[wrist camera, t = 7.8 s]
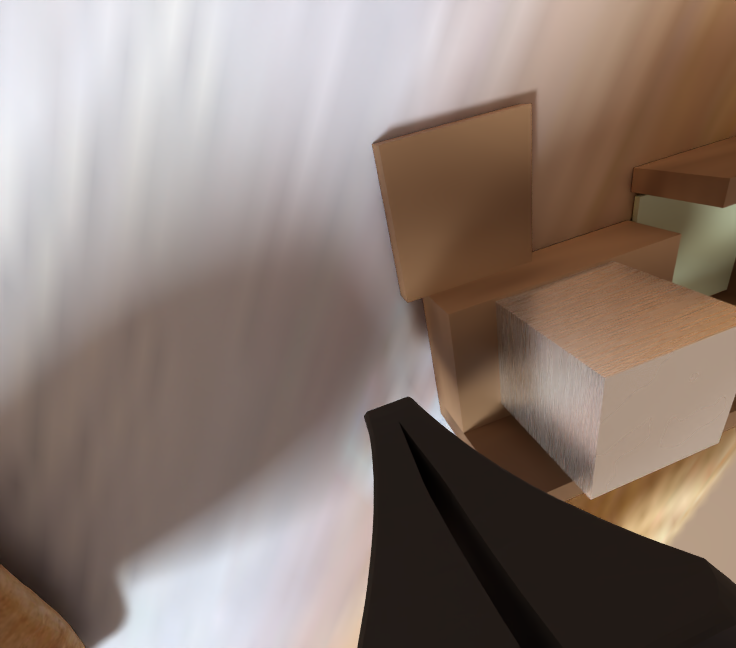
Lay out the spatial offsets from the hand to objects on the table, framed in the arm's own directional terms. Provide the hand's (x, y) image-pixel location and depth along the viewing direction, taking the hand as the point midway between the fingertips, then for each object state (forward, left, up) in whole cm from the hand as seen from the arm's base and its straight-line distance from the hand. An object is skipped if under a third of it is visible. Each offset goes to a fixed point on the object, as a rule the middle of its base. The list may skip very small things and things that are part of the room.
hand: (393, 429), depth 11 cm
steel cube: (0, -6, -1) cm, 6 cm away
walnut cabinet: (+2, -9, -3) cm, 10 cm away
